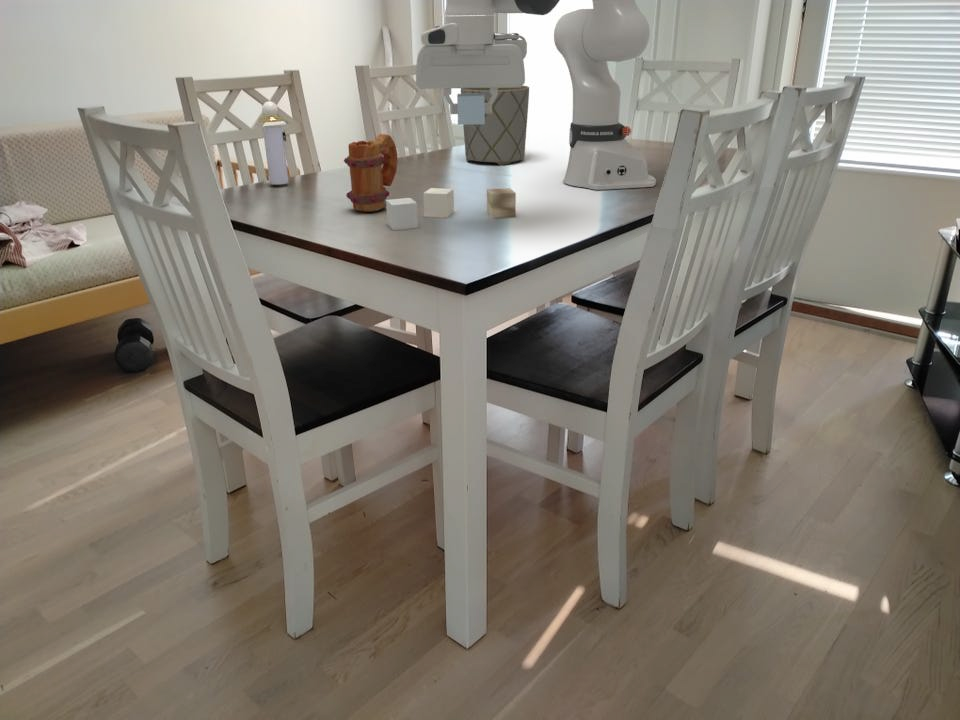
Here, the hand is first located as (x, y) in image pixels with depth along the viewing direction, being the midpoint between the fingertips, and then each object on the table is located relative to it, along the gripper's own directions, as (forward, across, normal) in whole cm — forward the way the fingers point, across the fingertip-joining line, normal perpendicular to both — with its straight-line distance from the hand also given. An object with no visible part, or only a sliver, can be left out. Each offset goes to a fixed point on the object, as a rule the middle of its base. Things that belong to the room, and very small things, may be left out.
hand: (471, 113), depth 138 cm
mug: (+21, +21, -15) cm, 33 cm away
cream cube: (+21, +7, -8) cm, 24 cm away
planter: (+22, -7, -71) cm, 74 cm away
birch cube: (+21, -6, -7) cm, 23 cm away
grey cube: (+21, +14, +1) cm, 25 cm away
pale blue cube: (+2, 0, 0) cm, 2 cm away
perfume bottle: (+21, +48, -40) cm, 66 cm away
